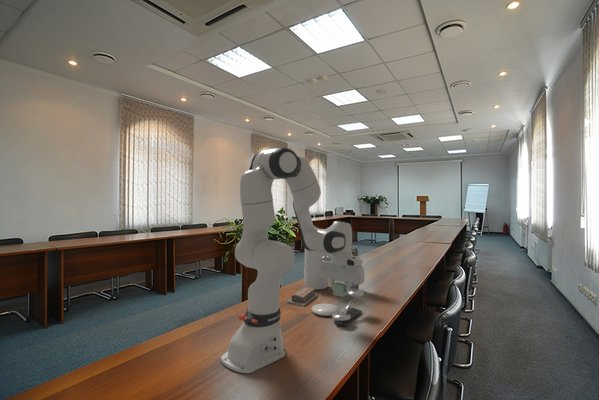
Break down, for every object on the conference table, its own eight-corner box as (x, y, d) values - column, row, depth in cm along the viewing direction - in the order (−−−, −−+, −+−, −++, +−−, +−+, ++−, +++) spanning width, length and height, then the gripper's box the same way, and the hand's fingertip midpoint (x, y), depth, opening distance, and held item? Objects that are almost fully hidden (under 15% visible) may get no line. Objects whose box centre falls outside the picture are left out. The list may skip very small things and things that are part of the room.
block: (342, 296, 120) (342, 286, 120) (333, 294, 123) (333, 284, 123) (347, 294, 124) (347, 283, 124) (338, 292, 127) (338, 281, 127)
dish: (330, 319, 127) (330, 316, 127) (306, 312, 135) (306, 309, 135) (344, 310, 138) (344, 307, 138) (320, 304, 146) (320, 301, 146)
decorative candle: (360, 292, 164) (361, 249, 164) (344, 292, 165) (344, 248, 164) (357, 287, 174) (358, 246, 173) (342, 287, 174) (342, 246, 174)
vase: (321, 292, 165) (321, 237, 165) (299, 288, 173) (300, 235, 172) (331, 285, 177) (332, 234, 177) (311, 282, 185) (311, 233, 185)
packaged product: (301, 285, 164) (318, 287, 159) (301, 293, 164) (318, 296, 159) (286, 294, 148) (304, 297, 143) (286, 303, 148) (304, 307, 143)
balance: (345, 329, 118) (345, 305, 118) (328, 324, 123) (328, 300, 123) (366, 312, 136) (366, 291, 136) (350, 308, 141) (351, 287, 141)
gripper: (316, 256, 127) (316, 288, 127) (360, 263, 115) (359, 297, 115) (324, 254, 132) (323, 285, 132) (366, 260, 120) (365, 294, 120)
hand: (340, 291), depth 124 cm, fingers closed on block, 4 cm apart
